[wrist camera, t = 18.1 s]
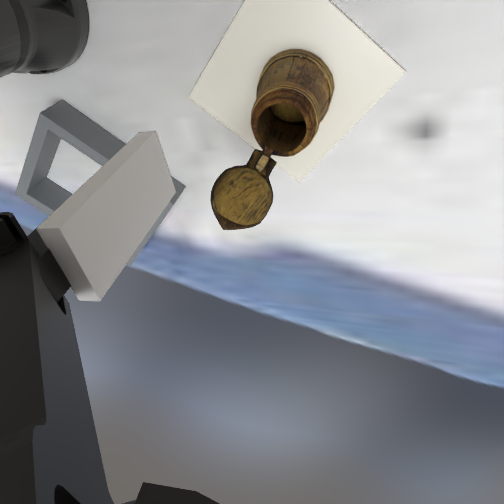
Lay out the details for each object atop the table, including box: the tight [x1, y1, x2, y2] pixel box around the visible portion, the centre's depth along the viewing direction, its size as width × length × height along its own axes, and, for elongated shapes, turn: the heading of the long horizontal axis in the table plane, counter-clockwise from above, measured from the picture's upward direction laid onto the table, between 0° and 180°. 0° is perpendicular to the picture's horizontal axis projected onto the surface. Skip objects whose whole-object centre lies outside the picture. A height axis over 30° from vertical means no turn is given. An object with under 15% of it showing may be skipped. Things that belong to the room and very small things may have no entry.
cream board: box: [188, 0, 406, 183], centre depth 47 cm, size 18×18×1 cm
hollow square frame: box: [15, 100, 186, 266], centre depth 60 cm, size 20×16×5 cm
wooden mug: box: [211, 49, 335, 230], centre depth 41 cm, size 9×14×18 cm, turn 151°
